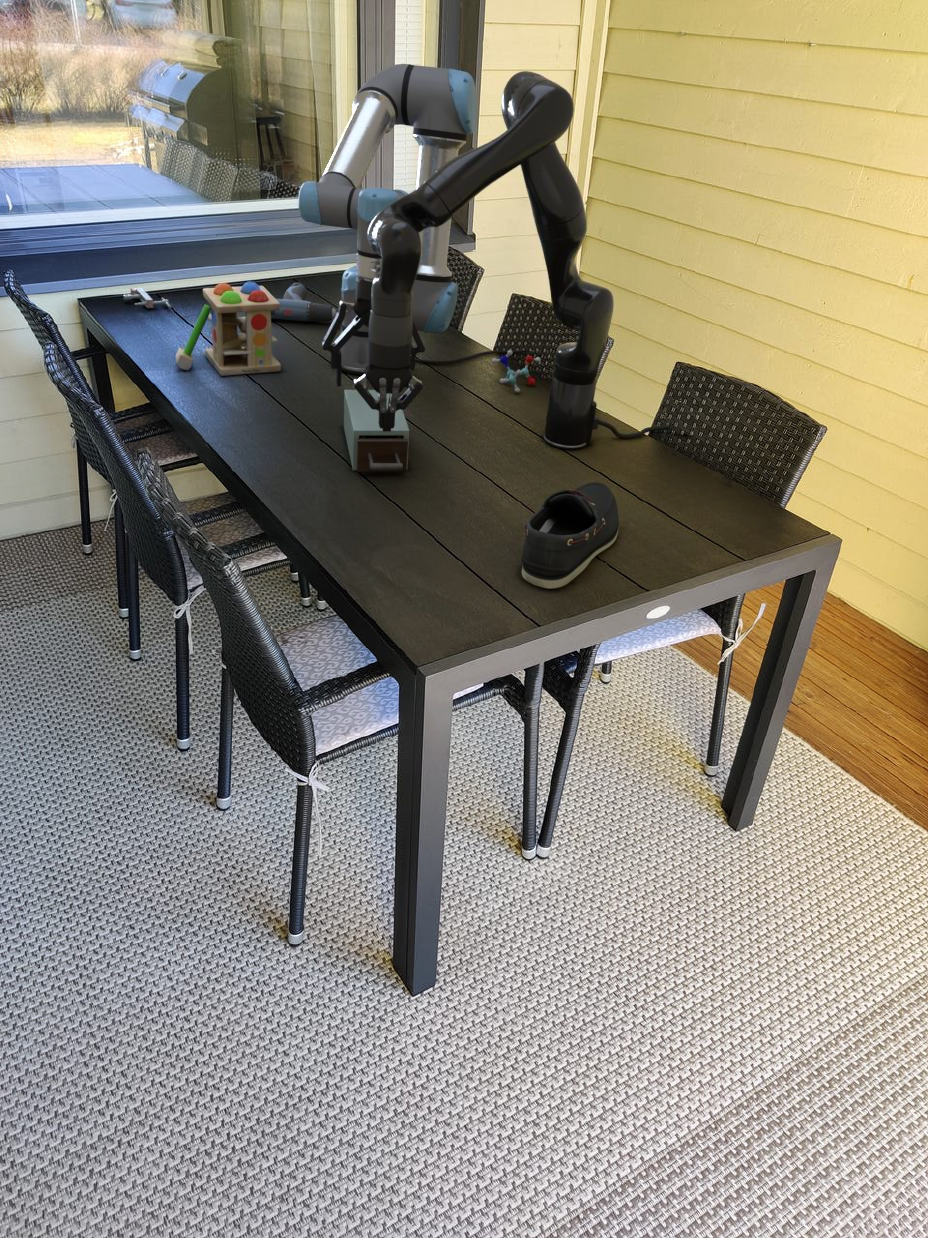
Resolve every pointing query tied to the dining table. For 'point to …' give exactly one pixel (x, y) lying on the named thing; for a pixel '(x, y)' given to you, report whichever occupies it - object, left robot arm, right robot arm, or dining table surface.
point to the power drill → (301, 307)
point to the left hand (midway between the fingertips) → (372, 384)
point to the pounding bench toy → (229, 347)
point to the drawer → (381, 453)
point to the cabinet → (367, 422)
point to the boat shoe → (568, 534)
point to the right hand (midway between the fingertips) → (386, 429)
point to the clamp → (144, 298)
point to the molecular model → (511, 373)
